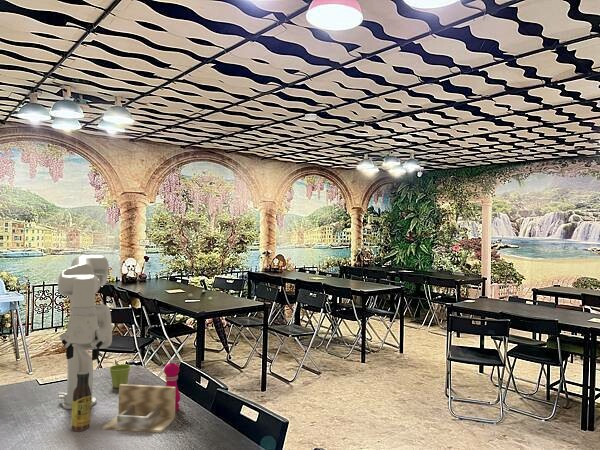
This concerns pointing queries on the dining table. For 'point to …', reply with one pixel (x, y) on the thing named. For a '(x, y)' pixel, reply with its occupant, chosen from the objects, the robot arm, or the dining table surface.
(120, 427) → the condiment rack
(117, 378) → the plant pot
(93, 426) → the dining table surface
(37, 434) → the dining table surface
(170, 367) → the pepper mill
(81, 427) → the sauce bottle
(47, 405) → the dining table surface
